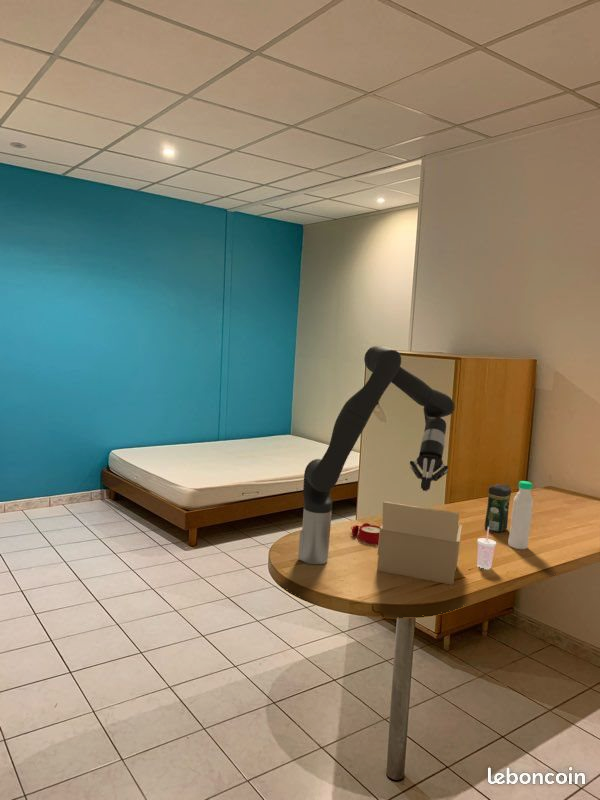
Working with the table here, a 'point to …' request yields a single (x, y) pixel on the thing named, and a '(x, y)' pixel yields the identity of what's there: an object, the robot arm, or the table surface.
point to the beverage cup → (485, 552)
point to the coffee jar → (498, 507)
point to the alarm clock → (367, 533)
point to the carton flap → (420, 521)
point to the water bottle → (521, 517)
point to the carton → (418, 556)
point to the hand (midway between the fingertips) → (424, 489)
